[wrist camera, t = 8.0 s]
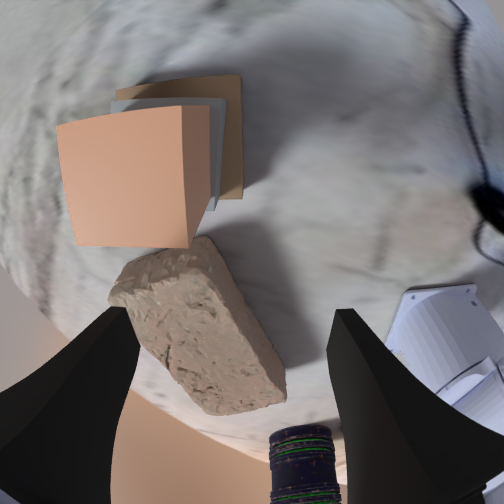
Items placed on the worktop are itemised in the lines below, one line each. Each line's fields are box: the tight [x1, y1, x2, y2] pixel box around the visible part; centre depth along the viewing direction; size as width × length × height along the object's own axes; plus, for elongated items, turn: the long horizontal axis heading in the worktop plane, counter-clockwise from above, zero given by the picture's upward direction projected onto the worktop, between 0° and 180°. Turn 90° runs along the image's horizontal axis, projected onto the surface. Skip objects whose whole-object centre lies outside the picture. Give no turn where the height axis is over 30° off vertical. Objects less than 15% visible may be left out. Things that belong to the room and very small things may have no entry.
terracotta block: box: [56, 105, 211, 249], centre depth 10 cm, size 4×4×5 cm
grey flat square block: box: [111, 97, 227, 211], centre depth 13 cm, size 6×6×2 cm
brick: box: [108, 236, 287, 416], centre depth 22 cm, size 16×8×5 cm, turn 23°
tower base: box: [116, 74, 244, 200], centre depth 15 cm, size 7×7×2 cm
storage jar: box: [269, 425, 342, 504], centre depth 29 cm, size 10×10×15 cm
